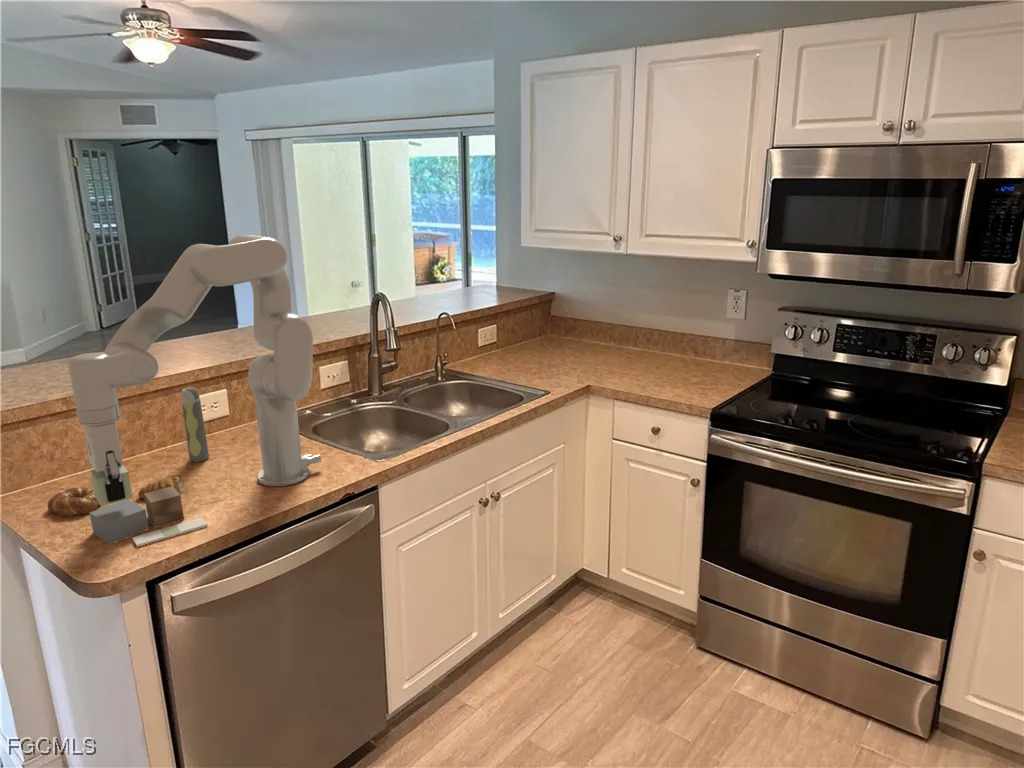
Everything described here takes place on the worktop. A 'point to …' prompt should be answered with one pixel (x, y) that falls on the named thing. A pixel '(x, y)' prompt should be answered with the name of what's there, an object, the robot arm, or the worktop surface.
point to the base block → (119, 521)
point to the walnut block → (164, 506)
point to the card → (169, 531)
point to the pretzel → (73, 502)
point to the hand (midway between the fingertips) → (113, 493)
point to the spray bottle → (194, 425)
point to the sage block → (100, 482)
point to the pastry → (161, 486)
